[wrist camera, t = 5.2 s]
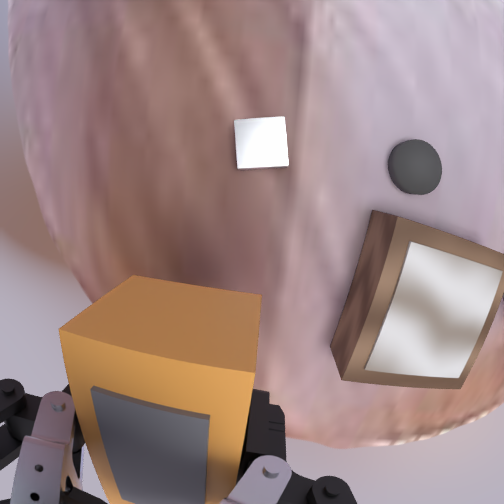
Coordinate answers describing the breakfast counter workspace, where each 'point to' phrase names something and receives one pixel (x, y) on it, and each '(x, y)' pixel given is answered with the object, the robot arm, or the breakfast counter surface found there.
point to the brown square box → (417, 306)
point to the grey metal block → (261, 143)
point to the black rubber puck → (415, 167)
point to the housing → (164, 388)
